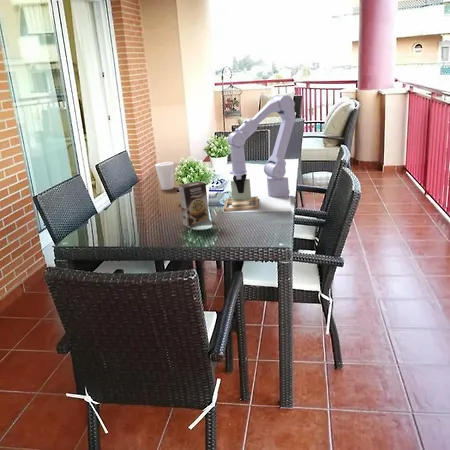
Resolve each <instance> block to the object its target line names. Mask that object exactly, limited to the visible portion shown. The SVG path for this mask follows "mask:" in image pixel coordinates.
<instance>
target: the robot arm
mask: <svg viewBox="0 0 450 450" xmlns="http://www.w3.org/2000/svg"><path fill="white" fill-rule="evenodd" d="M266 102H267V103H266V104H265V105H264V106H263V107H262V108H261V109H260V110H258V112H256V114H255V115H254V116H253V117H252V118H248V119H244V120H243V121H242V124H241V125H240V126H239V127H237V128H235V130H234V131H232V132H231V133H229V134H228V137H227V143H228V145H229V148H230V149H229V150H230V159H231V171H230V172H229V174H230V175H233V177H232V180H234V182H235V184H236V186H237V190H238V193H244V183H245V180H246V179H247V172H248V171H247V168H246V157H245V146H244V145H245V144H246V140H247V139H248V138H249V137H251V135H253V134H254V133H255V132H256V131H257V130H258V125H259V124H260V123H262V122H263V121H264V120H265V119H266V118H268V116H270V115H271V114H273V113H277V114H278V115H279V117H280V119H281V122H280V125H279V129H278V132H277V136H276V140H275V143H274V147H273V150H272V154H271V155H270V156H269V158H267V159H268V160H267V162H266V163H265V165H264V166H263V172H264V174H265V175H266V183H267V186H266V187H267V196H268V197H270V198H279V197H287V199H290V193H291V192H290V189H289V188H290V187H289V177H288V176H287V177H285V175H286V172H287V171H286V165H287V163H286V159H285V157H286V153H287V149H288V145H289V142H290V138H291V135H292V133H293V132H292V131H293V129H294V125H295V121H296V111H295V106H296V102H295V101H294V99H293V98H292V97H291V96H290V95H279V94H276V95H274V96H273V97H271V99H269V100H268V101H266Z"/></svg>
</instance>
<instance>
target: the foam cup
mask: <svg viewBox="0 0 450 450" xmlns="http://www.w3.org/2000/svg"><path fill="white" fill-rule="evenodd" d="M154 168H155V170H156V173H157V177H158V180H159V184H160V188H161V190H163V191H168V190H172V189H174V187H175V181H174V180H175V173H174V172H175V170H174V169H175V164H174V162H173V161H164V162H159V163H156V164H155V167H154Z"/></svg>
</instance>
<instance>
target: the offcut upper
mask: <svg viewBox="0 0 450 450" xmlns="http://www.w3.org/2000/svg"><path fill="white" fill-rule="evenodd" d="M250 205H251V204H250V203H249V201H241V202H232V204H231V207H244V206H250Z"/></svg>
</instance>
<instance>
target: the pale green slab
mask: <svg viewBox="0 0 450 450" xmlns="http://www.w3.org/2000/svg"><path fill="white" fill-rule="evenodd" d="M250 180H251V179H250V178H246V180H245V183H244V193H238V190H237V186H236V184H235V182H234V180H233V179H231V180H230V186H231V188H230V189H231V198H232V199H233V201H235V200H249V199H251V197H252V192H251V181H250Z"/></svg>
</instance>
